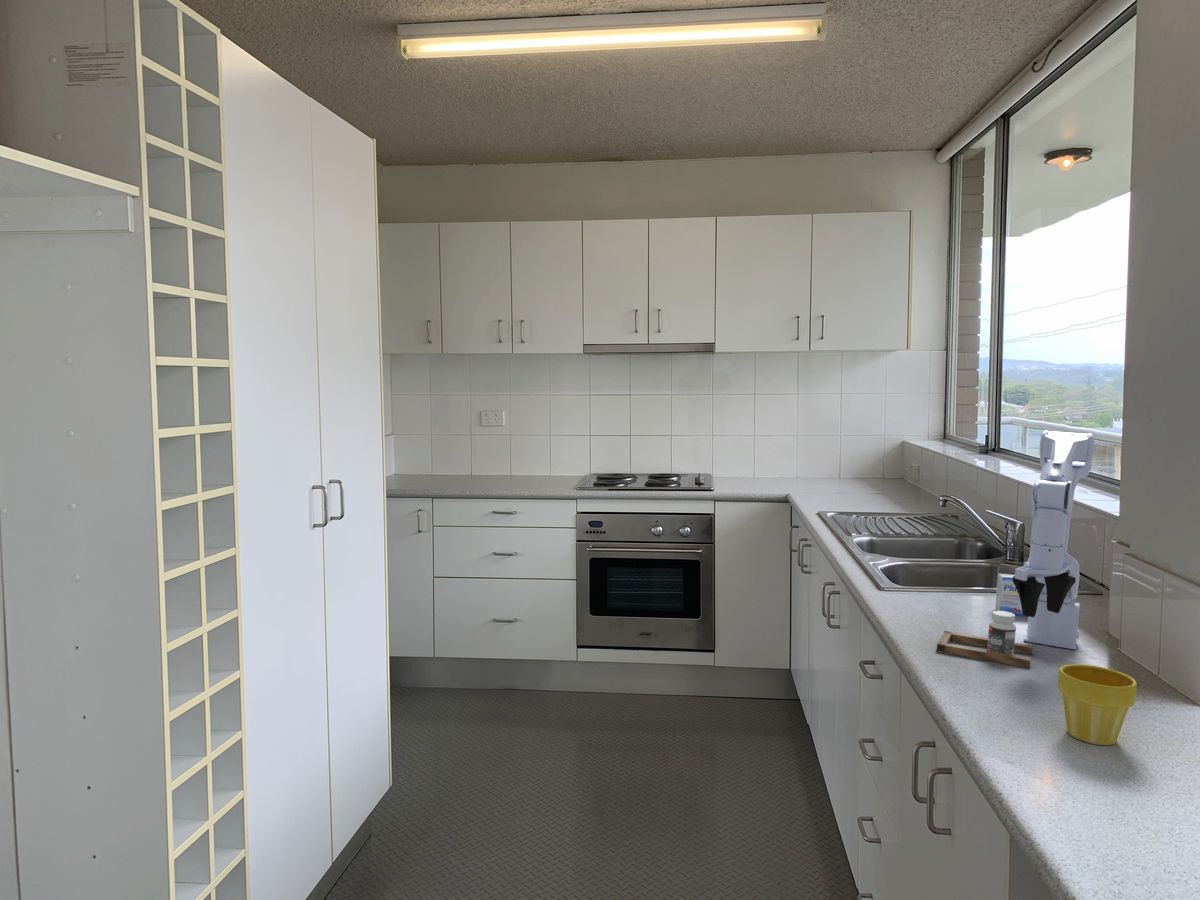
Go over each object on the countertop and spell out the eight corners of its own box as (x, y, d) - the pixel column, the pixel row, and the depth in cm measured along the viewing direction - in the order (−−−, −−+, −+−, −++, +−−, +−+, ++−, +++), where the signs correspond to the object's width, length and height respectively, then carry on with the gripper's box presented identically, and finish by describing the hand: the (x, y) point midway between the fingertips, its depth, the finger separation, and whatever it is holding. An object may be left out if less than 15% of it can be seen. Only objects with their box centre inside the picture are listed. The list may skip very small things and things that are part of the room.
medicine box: (998, 614, 202) (1001, 576, 201) (994, 608, 206) (997, 572, 205) (1035, 617, 200) (1039, 580, 199) (1031, 612, 204) (1034, 575, 203)
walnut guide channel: (1032, 653, 174) (1033, 645, 174) (1029, 668, 165) (1030, 660, 165) (943, 637, 182) (944, 630, 182) (936, 651, 173) (937, 643, 173)
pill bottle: (981, 652, 174) (984, 610, 173) (999, 650, 176) (1003, 609, 175) (999, 660, 170) (1003, 617, 169) (1018, 658, 171) (1022, 616, 170)
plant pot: (1086, 719, 142) (1092, 660, 141) (1146, 746, 133) (1153, 683, 132) (1038, 726, 138) (1043, 666, 137) (1096, 755, 129) (1102, 690, 128)
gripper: (1052, 537, 174) (1046, 604, 175) (1003, 542, 167) (997, 611, 169) (1086, 544, 168) (1080, 614, 169) (1036, 549, 161) (1030, 622, 162)
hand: (1041, 613), depth 168 cm, fingers open, 7 cm apart
